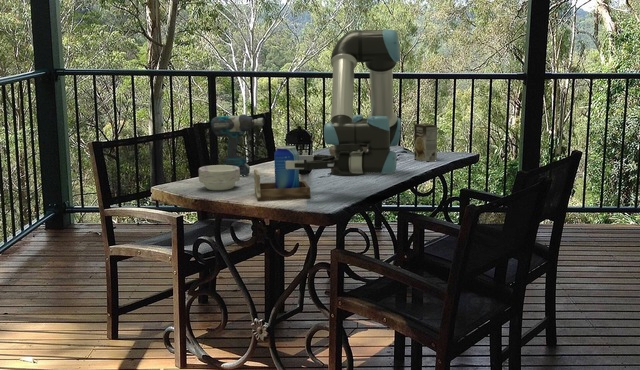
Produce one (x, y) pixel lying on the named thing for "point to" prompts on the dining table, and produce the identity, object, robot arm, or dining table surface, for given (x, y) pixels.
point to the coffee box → (425, 142)
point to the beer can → (283, 175)
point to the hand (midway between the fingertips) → (290, 161)
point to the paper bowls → (219, 176)
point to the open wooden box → (279, 190)
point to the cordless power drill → (235, 136)
